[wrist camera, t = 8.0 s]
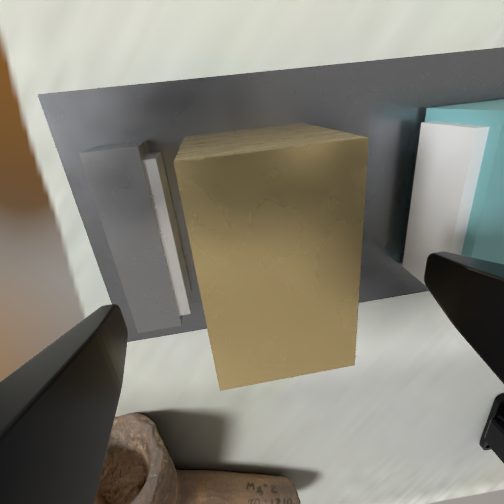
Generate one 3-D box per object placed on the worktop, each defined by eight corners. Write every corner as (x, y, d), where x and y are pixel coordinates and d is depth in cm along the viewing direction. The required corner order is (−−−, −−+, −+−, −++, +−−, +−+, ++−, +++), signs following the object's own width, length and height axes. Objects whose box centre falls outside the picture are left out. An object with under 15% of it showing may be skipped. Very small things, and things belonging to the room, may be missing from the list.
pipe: (293, 569, 24) (353, 520, 19) (47, 588, 20) (34, 533, 14) (278, 472, 29) (321, 413, 24) (81, 471, 25) (81, 400, 20)
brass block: (306, 281, 17) (354, 365, 12) (214, 297, 17) (220, 390, 11) (302, 122, 14) (368, 137, 8) (184, 136, 13) (173, 162, 8)
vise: (624, 36, 15) (717, 22, 12) (544, 260, 20) (596, 285, 18) (49, 94, 13) (8, 93, 10) (129, 330, 18) (116, 370, 15)
